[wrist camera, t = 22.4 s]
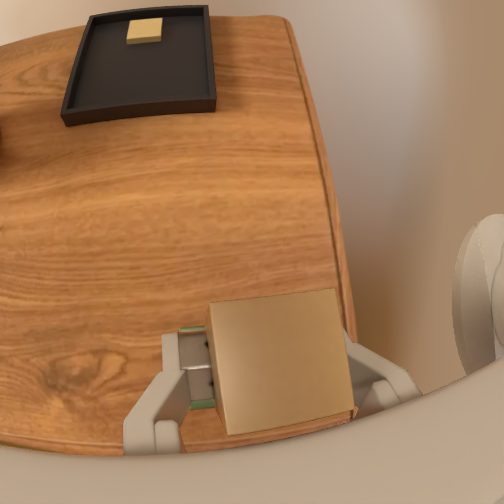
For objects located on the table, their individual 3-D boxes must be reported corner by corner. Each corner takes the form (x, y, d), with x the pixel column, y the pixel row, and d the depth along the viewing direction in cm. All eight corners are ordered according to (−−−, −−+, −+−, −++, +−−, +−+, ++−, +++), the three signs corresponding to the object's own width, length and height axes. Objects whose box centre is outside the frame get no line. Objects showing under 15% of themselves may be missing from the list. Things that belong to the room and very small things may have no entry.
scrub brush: (280, 320, 16) (368, 271, 8) (291, 390, 15) (391, 409, 7) (180, 332, 15) (162, 292, 7) (190, 404, 14) (182, 454, 6)
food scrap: (162, 23, 31) (162, 17, 30) (161, 41, 30) (160, 35, 30) (130, 26, 31) (130, 20, 30) (127, 45, 30) (126, 38, 29)
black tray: (206, 16, 34) (208, 4, 31) (214, 112, 30) (216, 98, 28) (92, 27, 30) (89, 15, 28) (66, 127, 27) (60, 115, 25)
